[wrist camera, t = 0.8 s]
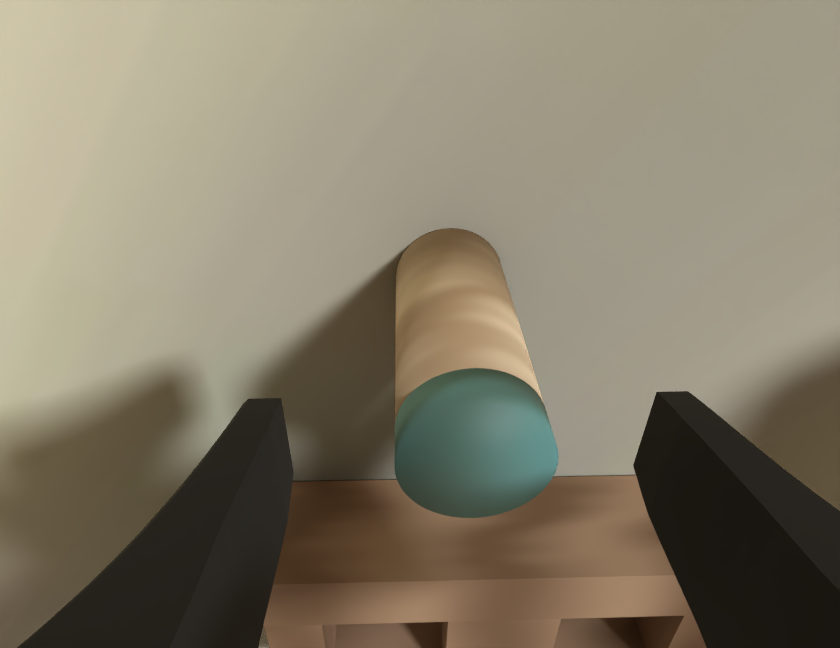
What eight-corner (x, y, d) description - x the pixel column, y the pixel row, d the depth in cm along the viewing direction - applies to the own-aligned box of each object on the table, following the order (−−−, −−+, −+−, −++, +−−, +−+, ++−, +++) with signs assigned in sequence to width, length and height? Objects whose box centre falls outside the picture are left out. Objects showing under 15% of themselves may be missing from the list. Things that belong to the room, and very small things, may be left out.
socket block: (707, 474, 21) (764, 573, 18) (650, 606, 26) (686, 702, 23) (275, 482, 21) (252, 584, 18) (301, 615, 26) (287, 714, 23)
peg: (506, 228, 16) (570, 404, 10) (496, 320, 17) (546, 516, 11) (395, 228, 15) (393, 406, 10) (396, 321, 17) (395, 519, 11)
